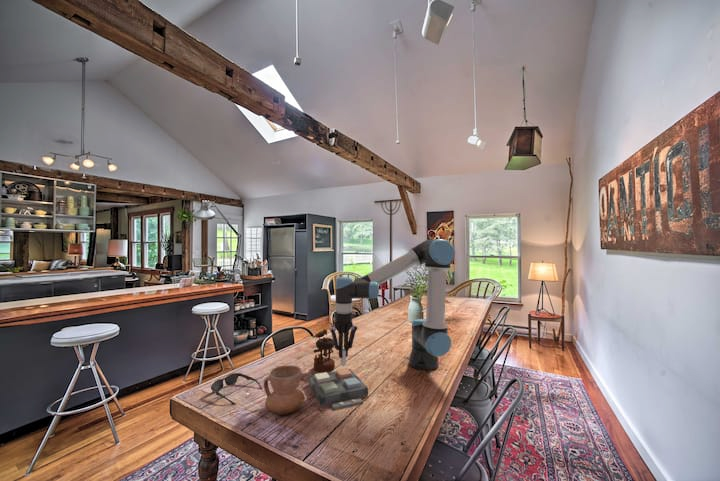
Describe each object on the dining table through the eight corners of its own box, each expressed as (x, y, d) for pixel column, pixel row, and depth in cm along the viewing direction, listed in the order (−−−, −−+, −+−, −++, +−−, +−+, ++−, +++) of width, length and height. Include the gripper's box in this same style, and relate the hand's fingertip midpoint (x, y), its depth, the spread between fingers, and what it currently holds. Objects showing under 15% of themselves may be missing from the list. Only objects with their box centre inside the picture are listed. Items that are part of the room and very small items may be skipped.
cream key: (326, 377, 133) (326, 372, 134) (330, 382, 128) (330, 377, 128) (314, 379, 131) (314, 374, 131) (317, 384, 126) (317, 379, 126)
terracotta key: (347, 373, 137) (347, 368, 137) (351, 378, 132) (351, 373, 132) (336, 375, 135) (336, 370, 135) (340, 380, 130) (340, 375, 130)
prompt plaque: (359, 399, 119) (359, 397, 119) (362, 403, 117) (362, 400, 117) (331, 405, 115) (331, 403, 115) (333, 409, 112) (333, 407, 112)
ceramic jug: (314, 403, 117) (314, 366, 117) (292, 423, 103) (292, 381, 104) (277, 395, 124) (276, 360, 124) (252, 413, 110) (251, 374, 111)
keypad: (350, 376, 140) (350, 368, 140) (367, 396, 122) (367, 387, 122) (308, 384, 132) (308, 376, 132) (320, 406, 114) (320, 397, 114)
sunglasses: (238, 380, 137) (239, 369, 137) (264, 392, 129) (265, 381, 129) (205, 396, 123) (206, 384, 122) (232, 411, 115) (233, 399, 115)
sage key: (333, 386, 124) (333, 381, 124) (337, 392, 119) (337, 387, 119) (320, 389, 122) (320, 384, 122) (324, 395, 117) (324, 390, 117)
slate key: (355, 382, 128) (355, 377, 128) (360, 388, 123) (360, 382, 123) (343, 384, 126) (343, 379, 126) (348, 390, 121) (348, 385, 121)
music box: (322, 376, 140) (320, 333, 142) (307, 372, 147) (304, 331, 149) (344, 365, 152) (341, 326, 154) (328, 362, 159) (326, 324, 160)
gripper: (354, 309, 140) (353, 359, 140) (327, 311, 135) (326, 363, 135) (360, 312, 133) (359, 365, 133) (332, 315, 128) (331, 370, 128)
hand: (343, 364), depth 134 cm, fingers closed
